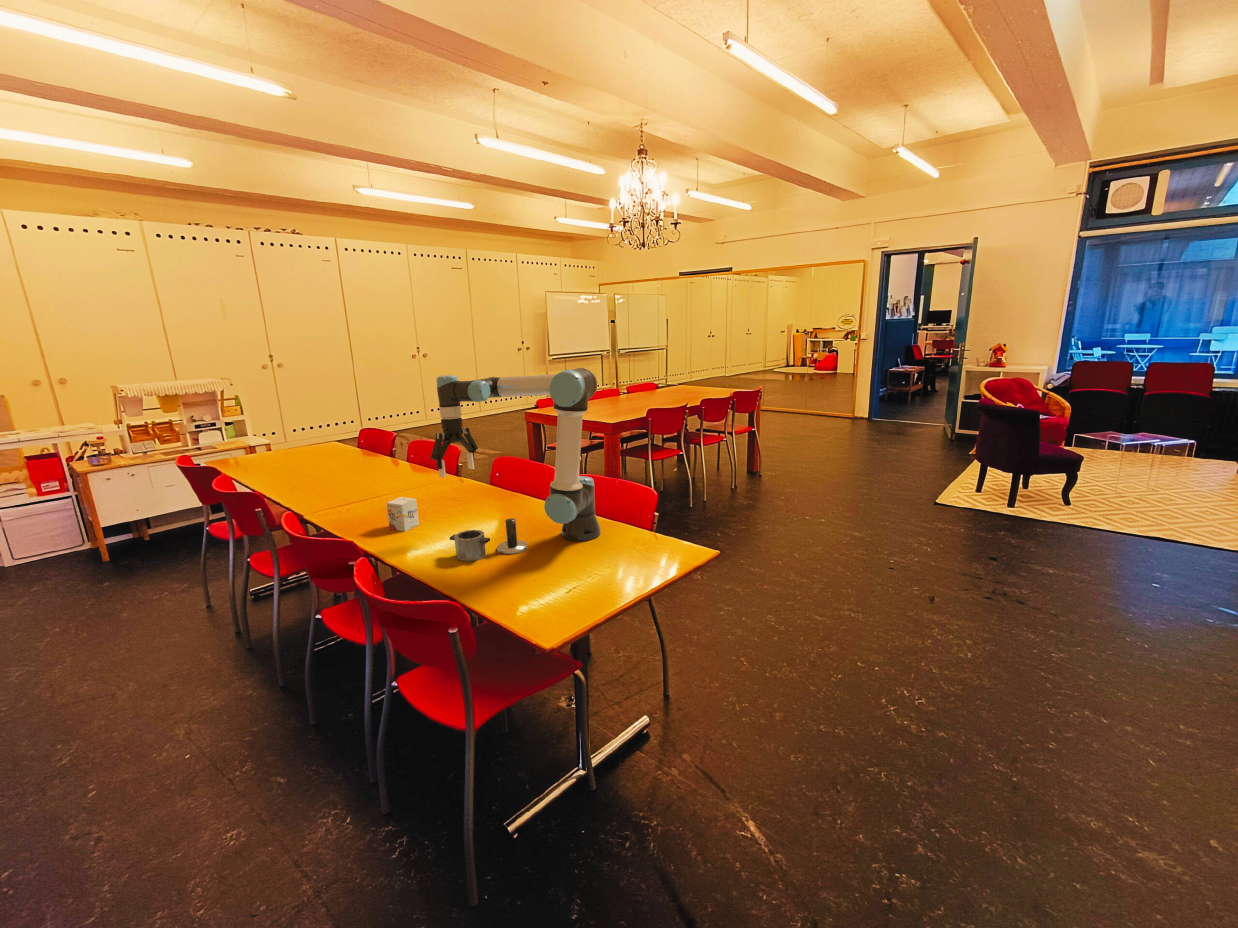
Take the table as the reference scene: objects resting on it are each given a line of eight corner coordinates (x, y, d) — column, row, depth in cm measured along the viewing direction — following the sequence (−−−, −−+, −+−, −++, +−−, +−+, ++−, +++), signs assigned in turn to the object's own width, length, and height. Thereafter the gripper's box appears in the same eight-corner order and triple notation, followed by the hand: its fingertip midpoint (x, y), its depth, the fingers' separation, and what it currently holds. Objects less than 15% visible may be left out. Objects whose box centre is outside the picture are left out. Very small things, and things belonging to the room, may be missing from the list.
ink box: (388, 529, 222) (385, 502, 219) (404, 522, 229) (400, 496, 227) (405, 531, 218) (401, 504, 216) (420, 524, 226) (416, 498, 223)
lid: (533, 544, 201) (531, 516, 199) (518, 556, 191) (516, 526, 188) (507, 541, 205) (504, 514, 202) (491, 552, 195) (489, 523, 192)
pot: (496, 552, 194) (494, 531, 193) (481, 563, 185) (479, 541, 183) (462, 548, 199) (460, 528, 197) (445, 559, 190) (443, 537, 188)
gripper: (470, 412, 212) (475, 464, 217) (416, 422, 192) (423, 479, 197) (483, 413, 208) (488, 466, 213) (429, 423, 188) (436, 481, 193)
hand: (457, 472), depth 205 cm, fingers open, 13 cm apart
